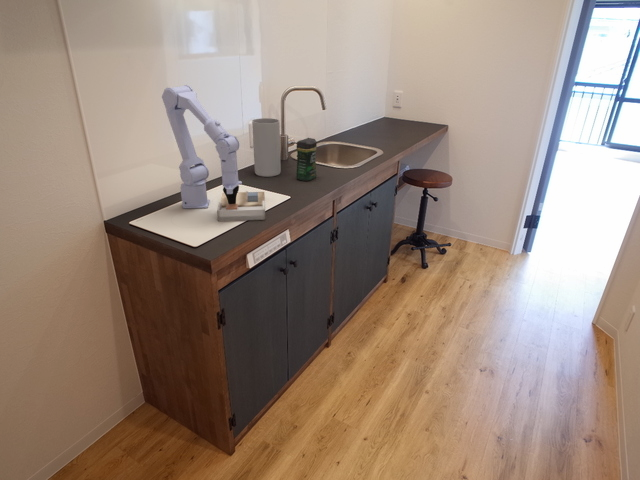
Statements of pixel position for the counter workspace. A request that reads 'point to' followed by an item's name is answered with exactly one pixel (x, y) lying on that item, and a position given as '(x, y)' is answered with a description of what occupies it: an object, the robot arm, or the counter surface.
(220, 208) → the box
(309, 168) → the coffee jar
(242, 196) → the oak board
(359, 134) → the counter surface
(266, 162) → the cylinder vase
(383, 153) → the counter surface
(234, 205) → the terracotta block
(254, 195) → the slate tile
